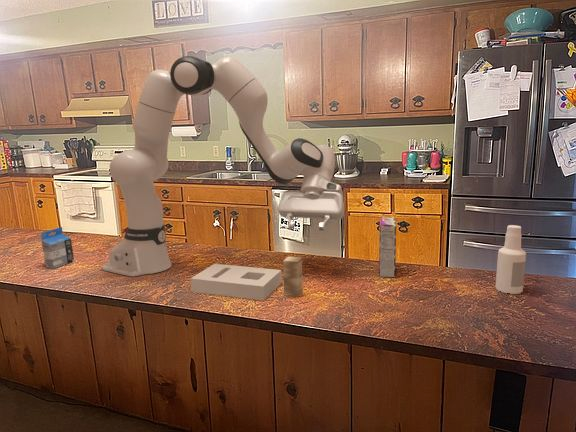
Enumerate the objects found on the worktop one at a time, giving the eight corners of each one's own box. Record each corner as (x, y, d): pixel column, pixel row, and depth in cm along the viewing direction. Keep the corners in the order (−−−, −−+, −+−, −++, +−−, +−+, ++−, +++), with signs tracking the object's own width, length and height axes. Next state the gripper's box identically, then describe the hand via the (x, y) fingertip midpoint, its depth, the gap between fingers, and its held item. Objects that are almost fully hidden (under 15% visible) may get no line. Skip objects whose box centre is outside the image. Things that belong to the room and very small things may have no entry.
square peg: (284, 295, 123) (283, 260, 121) (288, 290, 127) (288, 256, 125) (297, 297, 122) (297, 261, 120) (302, 292, 125) (302, 257, 123)
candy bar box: (378, 266, 147) (379, 216, 144) (394, 266, 146) (395, 217, 143) (378, 277, 136) (379, 224, 133) (395, 278, 135) (397, 224, 132)
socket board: (191, 291, 127) (190, 278, 126) (215, 275, 140) (214, 263, 139) (263, 300, 120) (263, 286, 119) (281, 283, 133) (281, 270, 132)
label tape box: (53, 269, 149) (49, 233, 147) (44, 268, 151) (39, 232, 148) (74, 261, 157) (70, 227, 155) (65, 260, 159) (61, 226, 156)
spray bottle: (524, 295, 120) (530, 230, 116) (496, 293, 122) (501, 228, 119) (521, 287, 126) (526, 224, 123) (494, 284, 129) (499, 223, 125)
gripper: (280, 183, 140) (270, 221, 133) (345, 185, 134) (337, 224, 127) (286, 195, 145) (276, 232, 138) (348, 197, 139) (341, 236, 132)
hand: (306, 228), depth 132 cm, fingers open, 8 cm apart
